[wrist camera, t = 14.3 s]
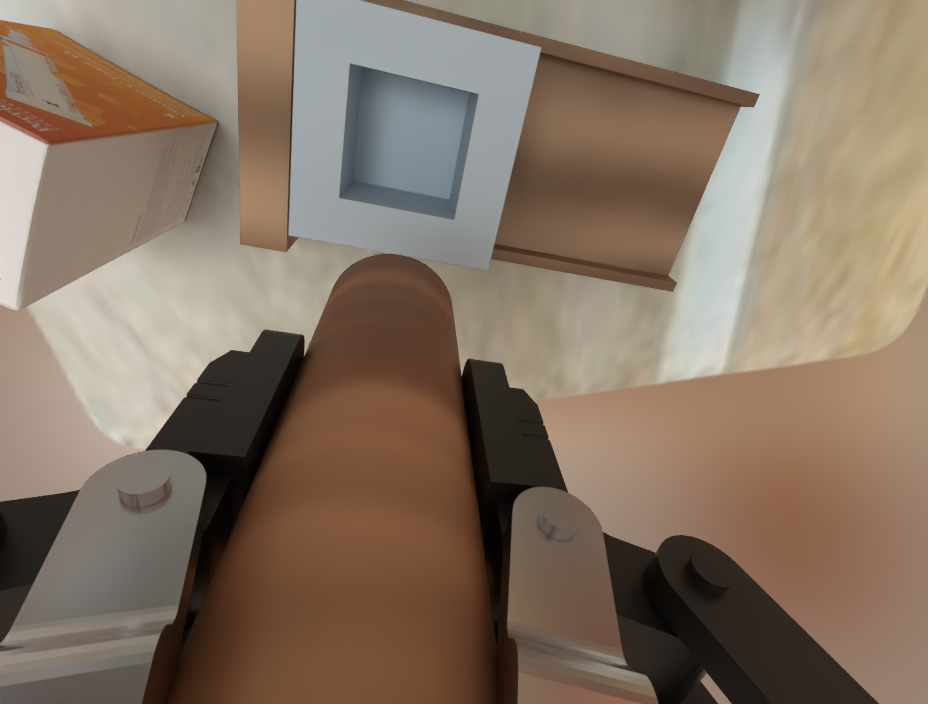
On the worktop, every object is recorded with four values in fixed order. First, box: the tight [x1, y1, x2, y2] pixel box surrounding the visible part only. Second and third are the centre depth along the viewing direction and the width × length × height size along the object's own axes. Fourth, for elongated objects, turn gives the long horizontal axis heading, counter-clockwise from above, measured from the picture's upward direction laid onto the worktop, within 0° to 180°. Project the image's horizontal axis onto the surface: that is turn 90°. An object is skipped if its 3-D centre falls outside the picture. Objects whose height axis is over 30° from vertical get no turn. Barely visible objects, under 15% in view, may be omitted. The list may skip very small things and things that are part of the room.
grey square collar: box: [289, 0, 541, 270], centre depth 22 cm, size 9×9×6 cm
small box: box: [0, 20, 217, 310], centre depth 19 cm, size 8×6×13 cm
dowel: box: [168, 254, 497, 704], centre depth 8 cm, size 3×3×12 cm
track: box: [237, 0, 760, 292], centre depth 24 cm, size 11×24×7 cm, turn 78°
